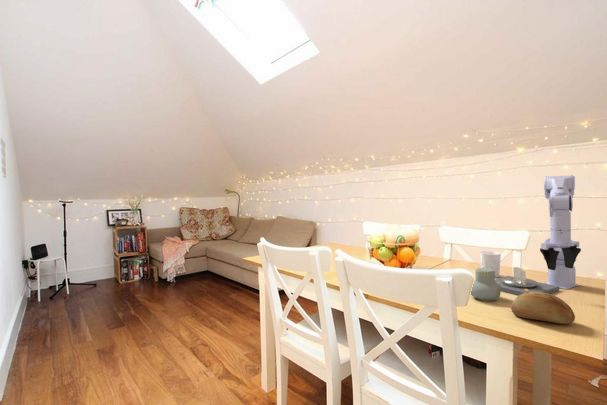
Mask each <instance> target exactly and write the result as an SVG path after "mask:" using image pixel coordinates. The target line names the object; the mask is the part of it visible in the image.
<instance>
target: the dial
mask: <svg viewBox="0 0 607 405" xmlns="http://www.w3.org/2000/svg"><path fill="white" fill-rule="evenodd" d="M505 277H506V278H503V277H502V278H503V279H502V282H503V284H505V285H508V286H512V287H518V288H535V287H537V282H538V281H536V280H534V279H531V278H526V271H525V270H523V269H522V268H521V267H519V266H514V267H513V276H511V277H507V276H505Z"/></svg>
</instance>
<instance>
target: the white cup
mask: <svg viewBox="0 0 607 405" xmlns="http://www.w3.org/2000/svg"><path fill="white" fill-rule="evenodd" d="M501 254H502V253H500V252H499V251H492V250H491V251H490V250H489V251H488V250H486V251H483V250H482V251H480V252H479V259H480V260H479V262H480V268H488V269H492V270H494V271H495V278H500V271H501V269H500V268H501Z"/></svg>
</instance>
